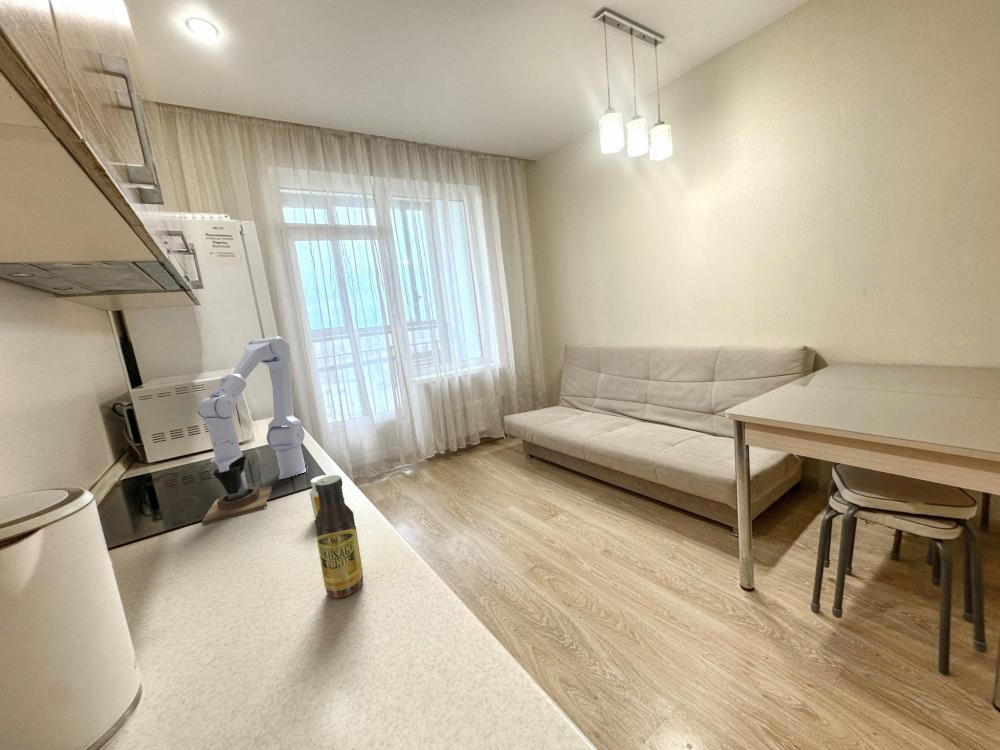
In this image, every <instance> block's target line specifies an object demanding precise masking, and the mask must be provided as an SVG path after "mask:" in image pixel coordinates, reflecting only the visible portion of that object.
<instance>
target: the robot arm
mask: <svg viewBox="0 0 1000 750" xmlns="http://www.w3.org/2000/svg"><path fill="white" fill-rule="evenodd" d="M290 358H291V357H290V343H288V342H287V341H286V340H285V339H284V338H283V337H282V336H278V335H277V336H274V337H265V338H259V339H258V338H256V339H254V338H253V339H251V340H249V342H248V343H247V345H246V346H245V347H244V353H243V356H242V357H241V359H240V361H239V362H238V364H237V365H236V367H235V369H234V370H233V372H232V373H228V374H225V375H223V376H221V377H220V379H219V380H220V382H219V383H218V384H217V386H216V387H214V390H212V391H211V392H210V395H209V397H206V398H203V399H202V400H201V401H200V403H199V404H198V410H197V411H196V413H197V415H198V416H199V417H200V418H201V419H202V420H203V422H204V425H205V426H206V427H207V429H208V434H209V438H210V442H211V445H212V449H213V454H214V458H211V460H210V463H211V464H214V463H215V464H216V466H217V468H218V469H216V470H214V471H213V472H212V473H213V474H212V475H213V477H214V478H216V479H217V480H218V481H219V483H221V484H222V486H223V487H224V489H225V491H226V494H227V493H228V494H229V495H230V494H234V493H238V490H239V485H238V473H239V471H241V470H244V471H245V463H246V460H247V459H246V458H247V455H246V454H243V452H242V451H241V447H240V443H239V438H238V435H237V430H236V426H235V422H234V418H233V414H235V413H236V410H237V402H238V399H239V397H240V396H241V394H243V392H244V390H245V388H246V387H247V382H246V379H247V378H248V377H249V376H250V374H251V373H252V372H253V371H254V370H255V368H257V366H258V365H259V364H260V363H261V364H263V365H265V366H267V367H268V368H269V369H271V381H272V383H271V384H272V398H273V400H272V401H273V419H272V420H271V421H270V422H269V423H268V424H267V425H268V426H267V427H268V429H267V433H266V437H265V438H266V442H267V444H268V445H269V446H270V447H272V449H273V450H274V451H275V455H276V458H277V462H278V463H277V464H278V467H279V476H278V480H282V479H287V478H291V476H292V477H295V475H296V476H299V475H298V474H300V475H302V474H301V473H304V472H306V468H305V463H306V462H305V459H304V454H303V449H302V446H301V445H303V442H304V439H305V430H304V428H303V425H302V424H303V423H302V421H301V420H300V419H298V418H297V417H296V416H294V400H293V385H292V384H293V383H292V368H291V359H290ZM306 473H307V472H306ZM304 474H305V473H304Z"/></svg>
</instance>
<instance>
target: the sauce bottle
mask: <svg viewBox="0 0 1000 750" xmlns="http://www.w3.org/2000/svg"><path fill="white" fill-rule="evenodd" d="M315 485H316V491H317V492H318V497H319V503H320V504H319V506H320V508H319V511H318V514H317V517H316V519H315V520H314V521H315V522H314V524H315V532H316V542H317V548H318V554H319V560H320V565H321V572H322V578H323V584H324V587H325V590H326V594H327V596H328V597H330V598H333V599H341V598H346V597H348V596H350V595H352V594H353V593H356V592H357V591H358V590H359V589H360V587H361V585H362V584H363V582H364V576H363V575H364V571H363V563H362V559H361V551H360V544H359V539H358V531H357V526H356V522H355V515H354V512H353V510H352V509H351V508H350V507H349V505H347V504H346V502H345V497H344V495H343V494H344V493H343V488H342V487H343V480H342V476H340V475H337V474H335V475H334V474H333V475H332V474H331V475H327V477H323V478H321V479H319V480H318V481H317V482H316V483H315Z"/></svg>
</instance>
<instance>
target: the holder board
mask: <svg viewBox="0 0 1000 750" xmlns="http://www.w3.org/2000/svg"><path fill="white" fill-rule="evenodd" d="M272 488H274V487H273V485H272V484H271V485H267V486H264V487H263V486H262V487H254V486H248V489H249V493H250V494H249V495H248V496H246V497H244V498H241V499H237V500H233V501H230V502H229V499H228V495H227V493H226V494H224V495H222V496H220V497H219V498H216V499H215V501H214V502H213V504H212V505H211V507H210V508H209V510H208V511H207V513H206V514H205V516H204V517H203V519H202V521H201V523H202V525H203V526H204V525H208V524H211V522H212V523H215V522H218V521H223V520H225V519H229V518H234V517H237V516H241V515H244V514H248V512H249V513H252V512H255V510H256V511H259V510H258V509H260V510H262V509H261V508H263V509H265V508H264V507H266V506H267V507H268V504H267V500H268V497H269V495H270V492H271V490H272V491H273V489H272ZM271 493H272V492H271ZM270 496H271V495H270ZM267 507H266V508H267ZM251 511H252V512H251ZM207 523H208V524H207Z"/></svg>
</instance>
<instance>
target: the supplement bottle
mask: <svg viewBox="0 0 1000 750" xmlns="http://www.w3.org/2000/svg"><path fill="white" fill-rule="evenodd" d="M327 476H328V475H326V474H322V475H318V476H315V477H314V478H312V479H311V480H310V485H311V487H312V488H311V489H310V491H309V496H310V502H311V506H312V510H313V515H314V519H315V520H316V517H317V514H318V511H319V508H320V506H319V504H320V503H319V497H318V492H317V491H316V485H315V483H316V482H317V481H318V480H319V479H321V478H323V477H327Z"/></svg>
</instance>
